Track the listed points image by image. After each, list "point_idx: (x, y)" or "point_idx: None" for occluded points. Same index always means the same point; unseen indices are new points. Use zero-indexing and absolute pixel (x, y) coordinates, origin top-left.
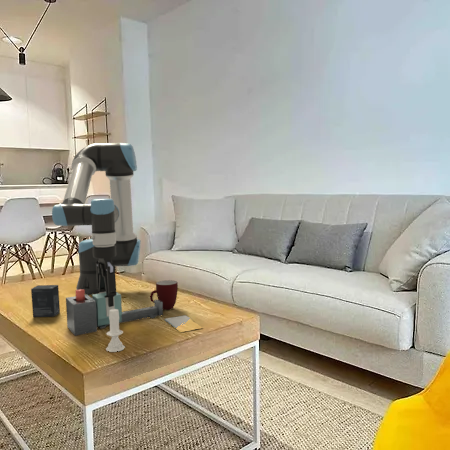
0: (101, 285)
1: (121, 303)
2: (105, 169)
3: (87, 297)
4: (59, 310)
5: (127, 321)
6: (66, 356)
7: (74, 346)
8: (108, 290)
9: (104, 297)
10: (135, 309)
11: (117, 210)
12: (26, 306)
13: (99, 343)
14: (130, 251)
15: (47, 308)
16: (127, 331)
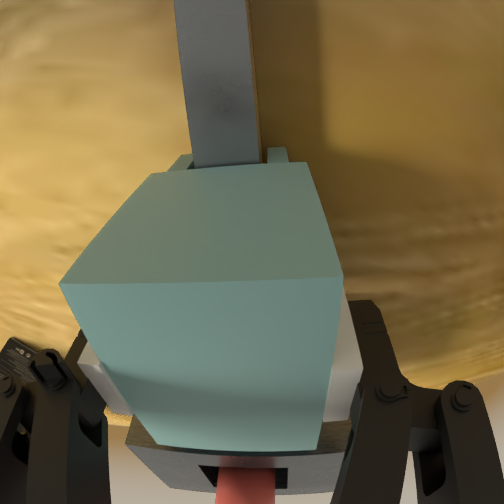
0: (101, 474)
1: (321, 206)
2: None
3: (216, 462)
4: (9, 343)
5: (256, 92)
6: (469, 381)
7: (427, 369)
8: (439, 482)
9: (320, 421)
10: (174, 7)
11: None
12: None
13: (472, 308)
14: None
15: None
16: (444, 164)
